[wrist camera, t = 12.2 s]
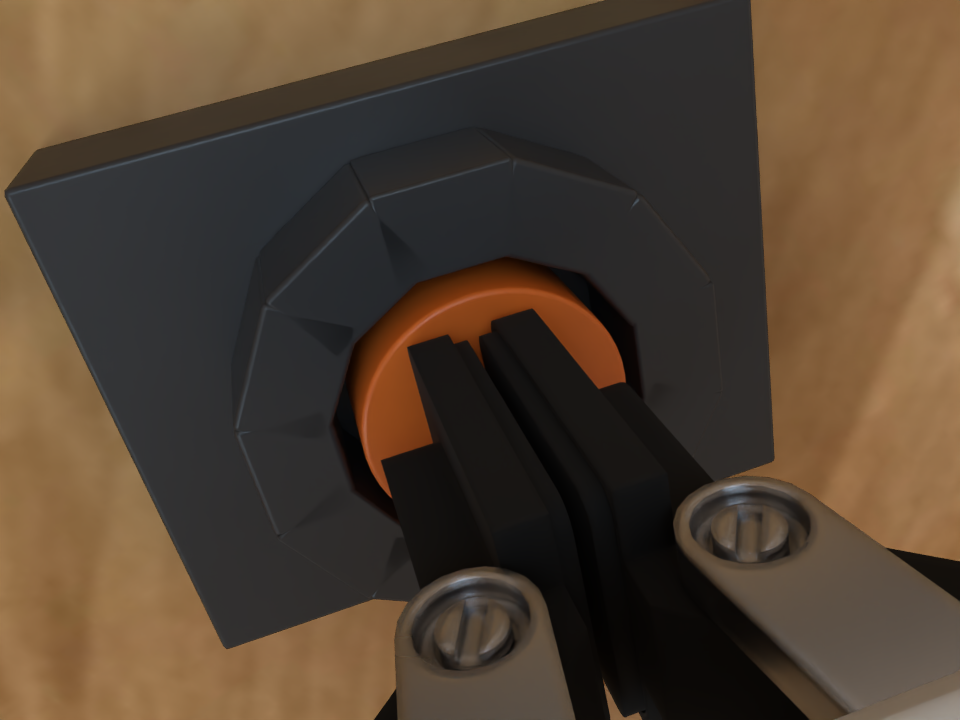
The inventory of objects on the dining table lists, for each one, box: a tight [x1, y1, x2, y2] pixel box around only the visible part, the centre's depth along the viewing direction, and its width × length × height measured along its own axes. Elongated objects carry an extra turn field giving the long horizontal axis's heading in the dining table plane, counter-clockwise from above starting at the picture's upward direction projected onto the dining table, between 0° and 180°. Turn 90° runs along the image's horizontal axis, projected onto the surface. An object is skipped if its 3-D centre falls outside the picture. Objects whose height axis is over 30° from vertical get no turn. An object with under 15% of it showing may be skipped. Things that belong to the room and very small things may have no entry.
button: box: [345, 257, 626, 498], centre depth 12 cm, size 4×4×2 cm
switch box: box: [5, 0, 774, 649], centre depth 14 cm, size 10×8×4 cm
